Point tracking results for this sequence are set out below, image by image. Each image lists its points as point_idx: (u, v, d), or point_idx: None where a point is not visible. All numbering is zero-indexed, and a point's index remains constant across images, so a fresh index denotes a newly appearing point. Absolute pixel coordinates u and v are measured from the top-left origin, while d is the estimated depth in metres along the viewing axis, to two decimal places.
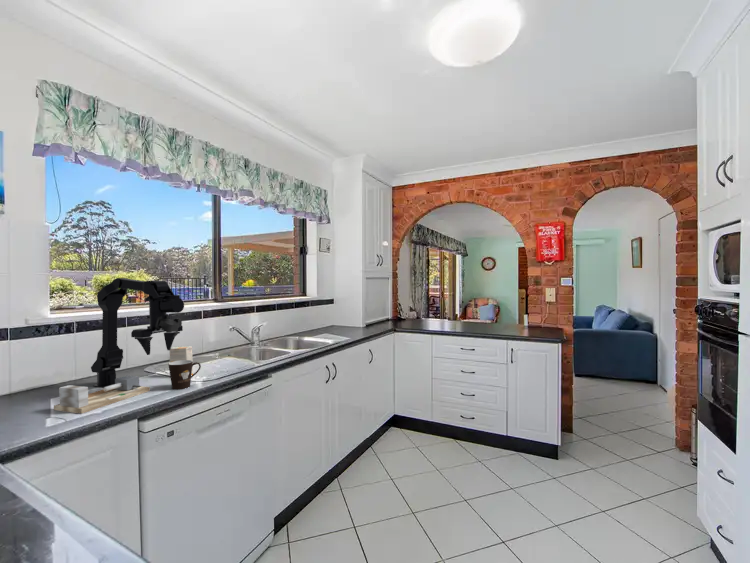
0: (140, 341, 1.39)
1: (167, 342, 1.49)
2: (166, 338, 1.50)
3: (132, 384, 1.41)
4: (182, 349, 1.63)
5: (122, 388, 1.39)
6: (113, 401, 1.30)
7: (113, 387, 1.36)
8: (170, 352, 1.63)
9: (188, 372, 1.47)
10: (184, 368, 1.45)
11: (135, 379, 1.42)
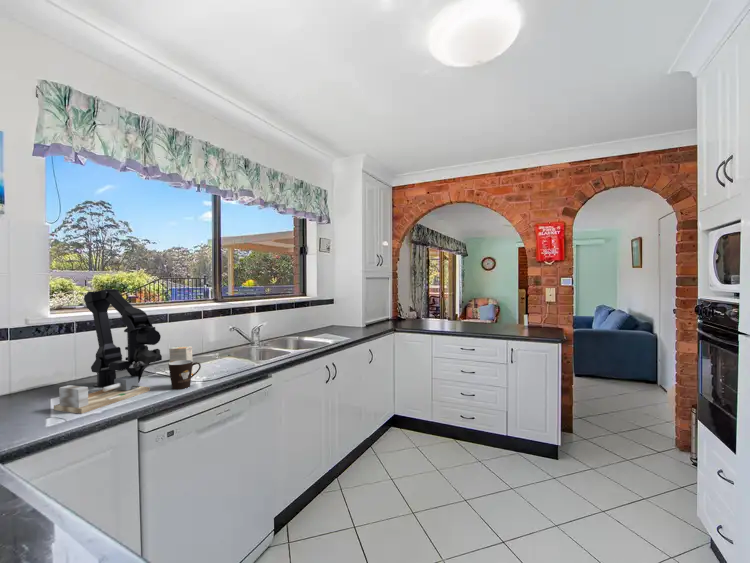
0: (129, 370, 1.44)
1: None
2: None
3: (131, 384, 1.40)
4: (182, 349, 1.63)
5: (121, 388, 1.39)
6: (113, 401, 1.30)
7: (112, 387, 1.36)
8: (170, 352, 1.63)
9: (188, 372, 1.47)
10: (184, 368, 1.45)
11: (134, 380, 1.41)
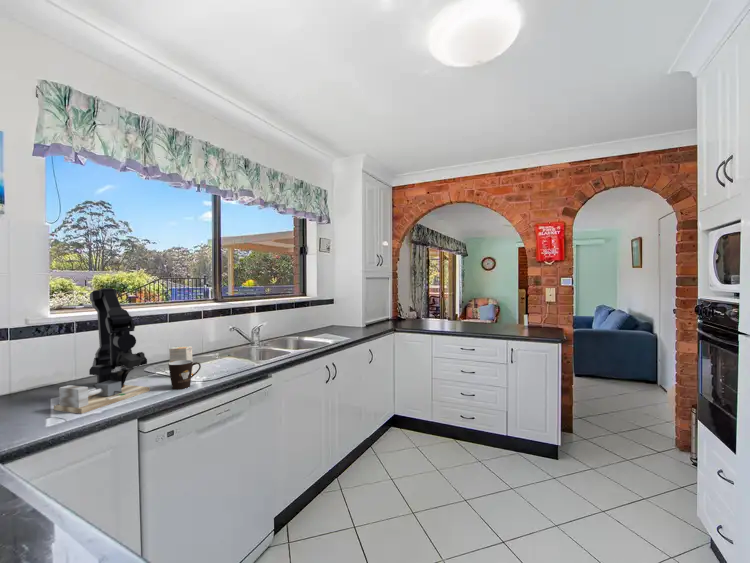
0: (111, 375, 1.38)
1: None
2: None
3: (114, 390, 1.34)
4: (182, 349, 1.63)
5: (103, 394, 1.32)
6: (113, 401, 1.30)
7: (93, 393, 1.29)
8: (170, 352, 1.63)
9: (188, 372, 1.47)
10: (184, 368, 1.45)
11: (116, 385, 1.35)
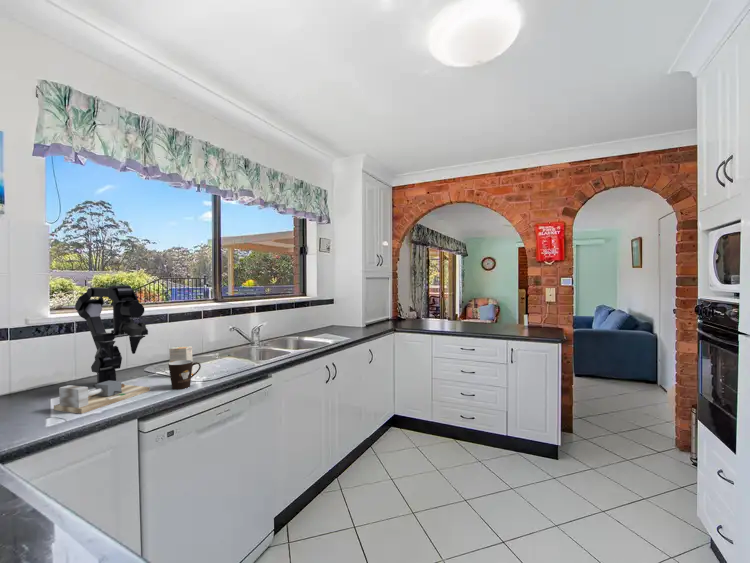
0: (103, 345, 1.42)
1: (132, 346, 1.52)
2: (131, 341, 1.53)
3: (114, 390, 1.34)
4: (182, 349, 1.63)
5: (103, 394, 1.32)
6: (113, 401, 1.30)
7: (93, 393, 1.29)
8: (170, 352, 1.63)
9: (188, 372, 1.47)
10: (184, 368, 1.45)
11: (116, 385, 1.35)
